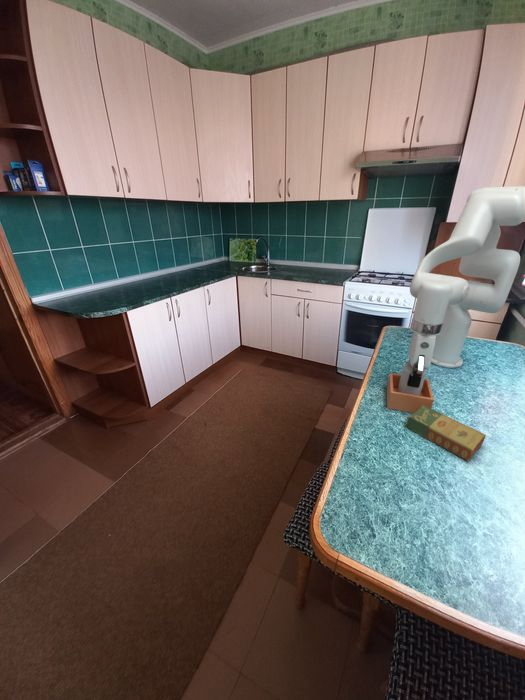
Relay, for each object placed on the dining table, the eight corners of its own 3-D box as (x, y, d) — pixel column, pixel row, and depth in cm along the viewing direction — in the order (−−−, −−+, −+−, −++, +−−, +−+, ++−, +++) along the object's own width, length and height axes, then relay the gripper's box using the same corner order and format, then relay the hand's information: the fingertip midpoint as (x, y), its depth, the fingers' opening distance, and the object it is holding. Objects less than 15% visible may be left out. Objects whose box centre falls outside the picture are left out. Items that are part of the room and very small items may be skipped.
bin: (386, 387, 99) (389, 372, 96) (424, 394, 95) (428, 378, 93) (387, 408, 89) (390, 392, 87) (429, 416, 86) (434, 399, 83)
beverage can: (420, 405, 89) (430, 372, 83) (398, 403, 90) (406, 370, 84) (415, 393, 94) (424, 361, 89) (394, 391, 95) (401, 359, 90)
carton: (468, 462, 70) (473, 450, 69) (405, 427, 82) (408, 415, 80) (481, 446, 75) (486, 434, 73) (419, 414, 86) (423, 403, 84)
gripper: (446, 340, 72) (429, 398, 80) (436, 316, 87) (422, 368, 95) (413, 336, 75) (399, 393, 83) (408, 314, 89) (397, 364, 97)
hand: (411, 379), depth 89 cm, fingers closed on beverage can, 6 cm apart
